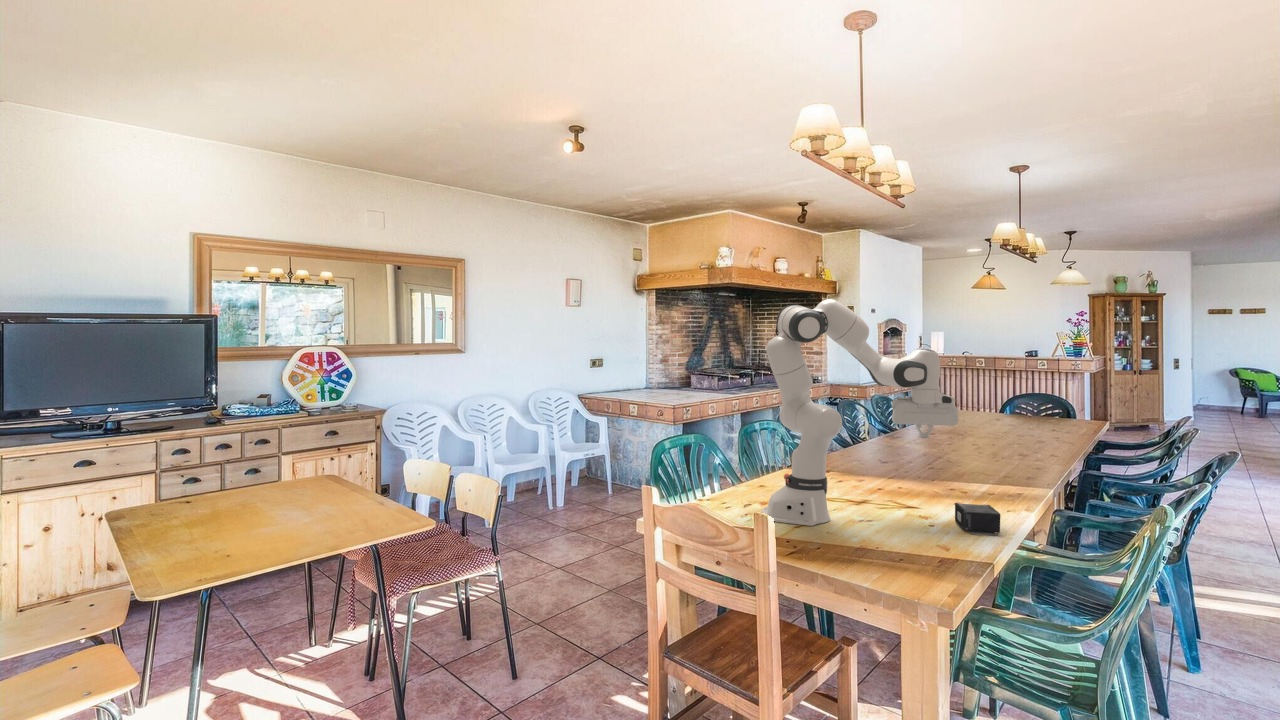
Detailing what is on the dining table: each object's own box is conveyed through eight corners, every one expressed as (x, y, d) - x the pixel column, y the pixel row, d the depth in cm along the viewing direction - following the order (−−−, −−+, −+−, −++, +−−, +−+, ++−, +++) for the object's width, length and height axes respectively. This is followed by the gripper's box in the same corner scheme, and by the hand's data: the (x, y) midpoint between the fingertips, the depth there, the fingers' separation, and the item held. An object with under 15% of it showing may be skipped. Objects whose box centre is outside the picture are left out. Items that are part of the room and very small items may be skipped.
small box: (963, 532, 190) (1001, 533, 188) (963, 511, 190) (1001, 513, 188) (954, 522, 201) (989, 523, 198) (954, 502, 200) (989, 503, 198)
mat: (971, 534, 189) (971, 533, 189) (957, 521, 201) (957, 520, 201) (997, 535, 187) (997, 535, 187) (982, 523, 200) (982, 522, 200)
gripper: (894, 397, 203) (893, 438, 204) (960, 398, 199) (959, 440, 200) (890, 395, 209) (889, 435, 210) (954, 396, 205) (953, 437, 206)
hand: (924, 438), depth 205 cm, fingers closed
